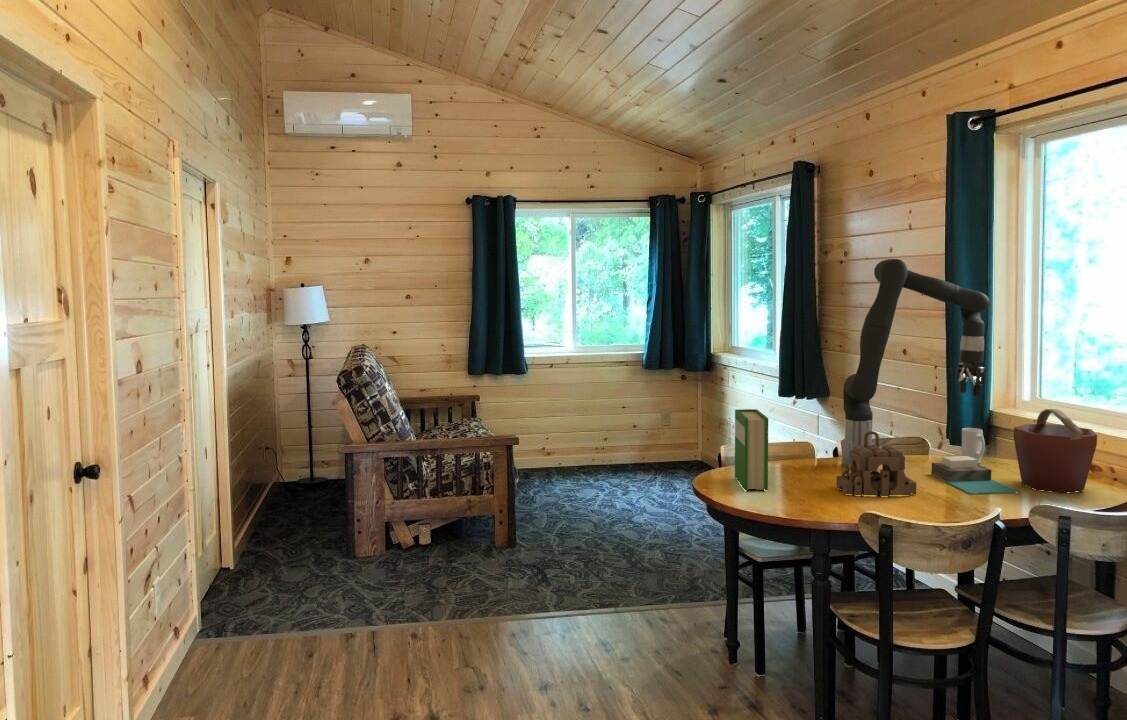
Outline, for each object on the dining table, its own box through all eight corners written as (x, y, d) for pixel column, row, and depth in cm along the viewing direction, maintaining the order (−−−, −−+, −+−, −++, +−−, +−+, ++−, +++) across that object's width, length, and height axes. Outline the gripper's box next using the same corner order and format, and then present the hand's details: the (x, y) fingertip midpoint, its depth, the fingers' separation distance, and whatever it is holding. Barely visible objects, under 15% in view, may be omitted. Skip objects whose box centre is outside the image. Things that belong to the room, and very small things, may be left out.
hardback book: (767, 491, 258) (768, 418, 255) (744, 492, 258) (744, 418, 256) (756, 478, 275) (756, 409, 273) (734, 478, 276) (735, 409, 273)
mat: (969, 494, 250) (969, 492, 250) (945, 482, 265) (945, 480, 265) (1019, 493, 251) (1019, 491, 251) (992, 480, 266) (992, 479, 266)
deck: (949, 483, 264) (949, 471, 264) (931, 474, 276) (931, 462, 276) (991, 481, 265) (991, 469, 264) (971, 472, 277) (971, 461, 276)
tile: (951, 468, 268) (951, 460, 268) (941, 463, 274) (942, 456, 274) (977, 467, 268) (977, 459, 268) (967, 463, 274) (967, 455, 274)
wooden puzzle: (848, 498, 249) (849, 439, 247) (833, 486, 264) (834, 430, 262) (919, 497, 249) (921, 438, 247) (900, 485, 263) (902, 429, 261)
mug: (956, 460, 296) (957, 428, 294) (973, 459, 297) (974, 427, 295) (974, 466, 286) (976, 433, 284) (991, 465, 287) (993, 432, 285)
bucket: (1098, 500, 242) (1102, 418, 239) (1015, 493, 251) (1018, 414, 249) (1084, 480, 264) (1088, 406, 261) (1008, 475, 273) (1011, 402, 271)
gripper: (950, 347, 290) (948, 391, 292) (973, 350, 276) (970, 397, 278) (970, 347, 291) (968, 391, 292) (994, 350, 276) (991, 397, 278)
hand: (969, 394), depth 285 cm, fingers open, 8 cm apart
